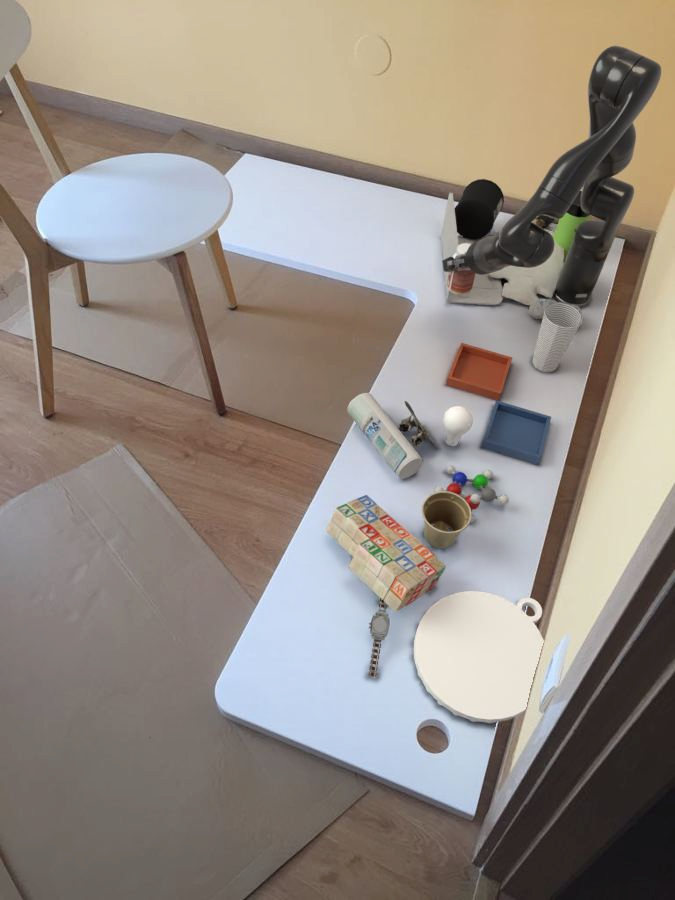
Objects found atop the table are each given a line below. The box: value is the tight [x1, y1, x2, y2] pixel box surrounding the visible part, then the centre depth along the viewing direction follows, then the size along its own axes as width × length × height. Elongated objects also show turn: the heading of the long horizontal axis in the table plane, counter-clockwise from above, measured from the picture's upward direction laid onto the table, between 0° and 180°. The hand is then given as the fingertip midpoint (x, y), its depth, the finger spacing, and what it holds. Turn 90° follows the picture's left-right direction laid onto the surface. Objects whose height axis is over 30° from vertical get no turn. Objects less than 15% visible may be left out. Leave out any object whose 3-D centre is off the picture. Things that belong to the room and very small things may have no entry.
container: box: [454, 178, 505, 239], centre depth 206 cm, size 12×12×18 cm
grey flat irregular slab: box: [489, 228, 565, 307], centre depth 197 cm, size 18×5×30 cm
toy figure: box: [532, 215, 555, 229], centre depth 208 cm, size 7×6×15 cm
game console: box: [440, 192, 504, 306], centre depth 192 cm, size 28×15×15 cm, turn 178°
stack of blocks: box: [325, 494, 447, 613], centre depth 137 cm, size 21×6×12 cm
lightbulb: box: [442, 405, 474, 447], centre depth 157 cm, size 6×6×11 cm
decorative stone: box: [528, 298, 584, 328], centre depth 185 cm, size 13×7×5 cm, turn 79°
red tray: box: [445, 342, 513, 401], centre depth 173 cm, size 13×13×2 cm
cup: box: [532, 301, 583, 373], centre depth 172 cm, size 8×8×16 cm
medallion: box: [413, 590, 545, 724], centre depth 131 cm, size 24×27×2 cm
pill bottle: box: [447, 243, 476, 295], centre depth 173 cm, size 6×6×11 cm
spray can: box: [346, 392, 424, 480], centre depth 157 cm, size 6×6×20 cm
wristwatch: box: [368, 597, 391, 678], centre depth 132 cm, size 4×14×5 cm, turn 170°
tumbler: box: [554, 190, 591, 262], centre depth 198 cm, size 8×8×17 cm
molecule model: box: [433, 464, 510, 524], centre depth 151 cm, size 15×7×14 cm
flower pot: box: [421, 491, 473, 549], centre depth 143 cm, size 9×9×9 cm
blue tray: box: [480, 400, 552, 466], centre depth 162 cm, size 13×13×2 cm
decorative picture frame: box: [397, 400, 439, 450], centre depth 158 cm, size 12×6×11 cm
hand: (460, 265), depth 174 cm, fingers closed on pill bottle, 6 cm apart
